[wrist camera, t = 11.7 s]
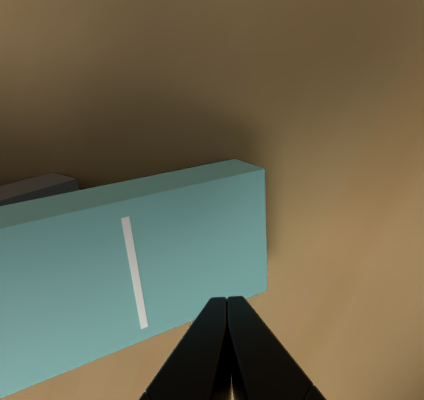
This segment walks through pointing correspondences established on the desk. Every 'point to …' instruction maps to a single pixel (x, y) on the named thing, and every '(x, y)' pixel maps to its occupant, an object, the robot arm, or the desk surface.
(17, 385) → the head tile
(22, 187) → the tile
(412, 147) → the desk surface
